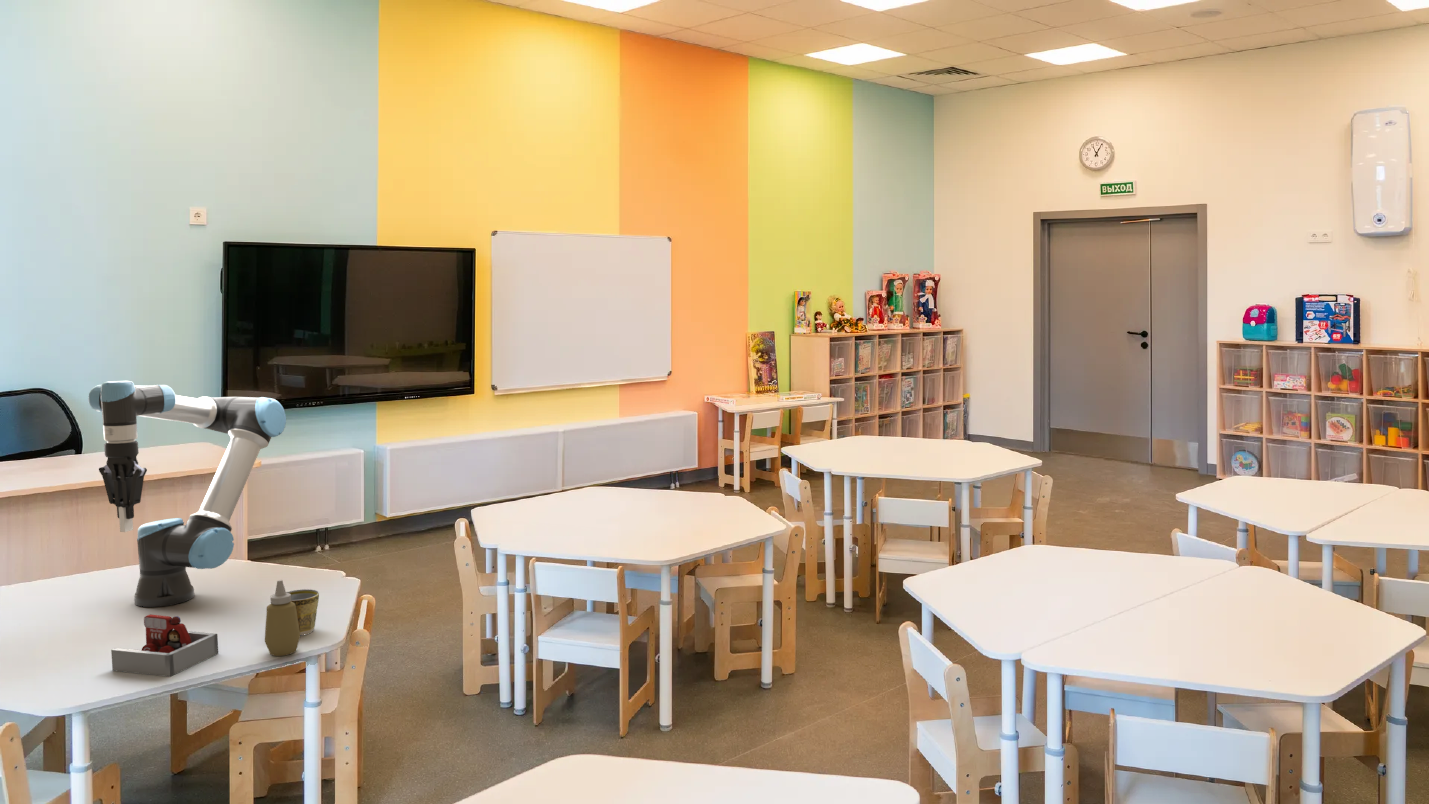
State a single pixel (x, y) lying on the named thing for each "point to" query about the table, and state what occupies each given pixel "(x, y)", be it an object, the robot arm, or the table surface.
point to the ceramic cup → (305, 608)
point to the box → (166, 657)
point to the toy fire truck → (165, 634)
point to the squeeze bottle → (281, 623)
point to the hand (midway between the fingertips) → (126, 530)
